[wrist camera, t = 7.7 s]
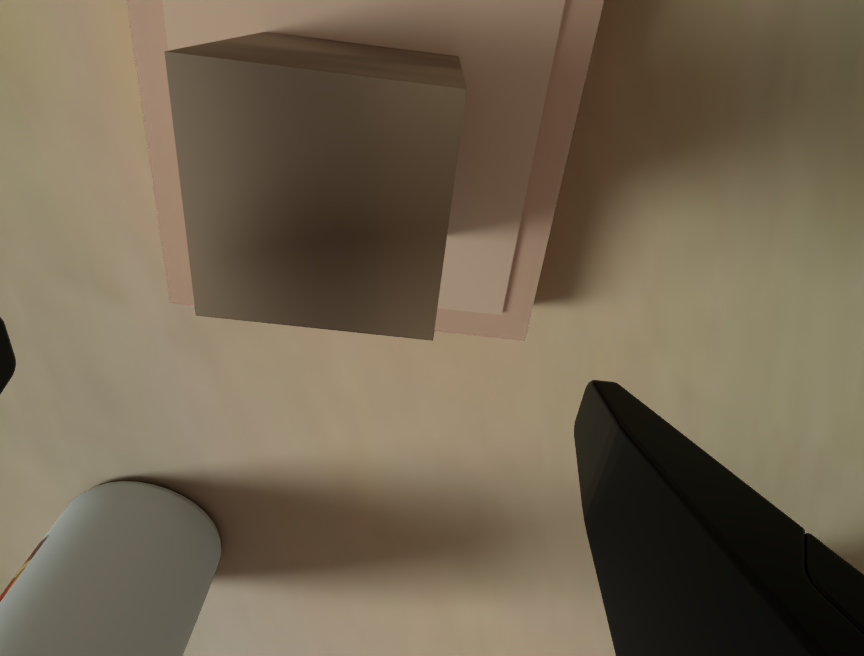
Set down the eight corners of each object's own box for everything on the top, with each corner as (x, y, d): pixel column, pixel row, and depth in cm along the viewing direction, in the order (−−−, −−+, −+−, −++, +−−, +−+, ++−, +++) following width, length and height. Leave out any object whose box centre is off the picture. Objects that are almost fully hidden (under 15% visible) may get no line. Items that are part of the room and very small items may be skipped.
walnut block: (458, 56, 15) (466, 89, 9) (436, 236, 17) (432, 340, 12) (265, 31, 14) (163, 51, 9) (271, 217, 17) (196, 315, 12)
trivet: (600, -80, 15) (628, -94, 13) (516, 305, 21) (525, 343, 19) (152, -142, 15) (97, -168, 12) (198, 271, 21) (167, 305, 18)
